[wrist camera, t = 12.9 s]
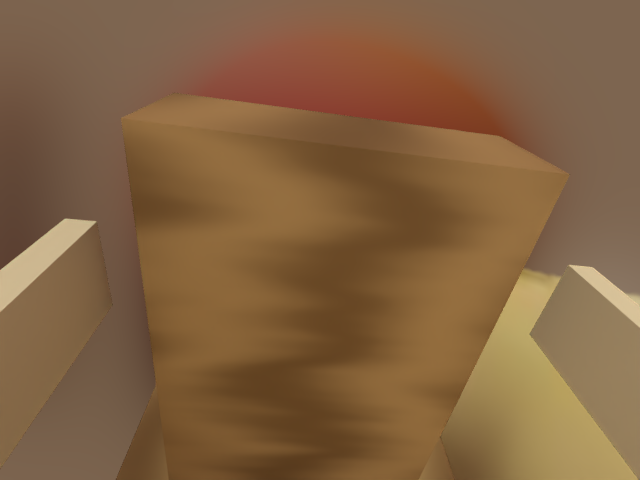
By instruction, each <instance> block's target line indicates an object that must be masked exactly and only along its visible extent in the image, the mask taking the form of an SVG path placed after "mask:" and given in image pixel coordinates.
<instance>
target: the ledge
mask: <svg viewBox="0 0 640 480" xmlns="http://www.w3.org/2000/svg"><path fill="white" fill-rule="evenodd" d="M116 480H169V478H168V470H167V463H166V455H165V447H164V440H163V432H162V425H161V417H160V409H159V402H158V394H157V387H156V386H155V388H154V390H153V393H152V395H151V398H150V400H149V402H148V405H147V407H146V409H145V412H144V414H143V417H142V419H141V421H140V424H139V426H138V428H137V431H136V433H135V436H134V438H133V440H132V443H131V445H130V447H129V450H128V452H127V455H126V457H125V459H124V462H123V464H122V466H121V469H120V471H119V473H118V476H117V478H116ZM419 480H455V479H454V476H453V473H452V470H451V467H450V464H449V461H448V458H447V455H446V452H445V449H444V446H443V443H442V440H441V437H439V439H438V442H437V444H436V446H435V448H434V450H433V452H432V454H431V456H430V458H429V460H428V462H427V464H426V466H425V468H424V470H423V472H422V474H421V476H420V478H419Z"/></svg>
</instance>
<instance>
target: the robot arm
mask: <svg viewBox="0 0 640 480" xmlns="http://www.w3.org/2000/svg"><path fill="white" fill-rule="evenodd" d="M112 305H113V304H112V299H111V293H110V288H109V283H108V278H107V272H106V267H105V262H104V257H103V251H102V247H101V241H100V236H99V230H98V225H97V222H96V221H86V220H75V219H64V220H63V221H61V222H60V223H59V224H58V225H56V226H55V227H54V228H53V229H51V230H50V231H49V232H48V233H46V234H45V235H44V236H42V238H40V239H39V240H37V241H36V242H35V243H34V244H32V245H31V246H30V247H29V248H28V249H26V250H25V251H24V252H22V253H21V254H20V255H19V256H18V257H16V258H15V259H14V260H12V261H11V262H10V263H9V264H7V265H6V266H5V267H4V268H2V269H1V270H0V469H1V467H2V466H3V464H4V463H5V461H6V460H7V458H8V457H9V456H10V454H11V453H12V451H13V450H14V448H15V447H16V445H17V444H18V442H19V441H20V440H21V438H22V437H23V435H24V433H25V432H26V430H27V429H28V428H29V426H30V425H31V423H32V422H33V421H34V419H35V418H36V416H37V415H38V413H39V412H40V410H41V409H42V407H43V406H44V404H45V403H46V402H47V400H48V399H49V397H50V396H51V394H52V393H53V391H54V390H55V388H56V387H57V386H58V384H59V383H60V381H61V379H62V378H63V377H64V375H65V374H66V372H67V371H68V369H69V368H70V367H71V365H72V364H73V362H74V361H75V359H76V358H77V356H78V355H79V353H80V352H81V350H82V349H83V348H84V346H85V345H86V343H87V342H88V340H89V339H90V337H91V336H92V334H93V333H94V331H95V330H96V328H97V327H98V326H99V324H100V323H101V321H102V320H103V318H104V317H105V315H106V314H107V313H108V311H109V310H110V308H111V306H112ZM530 335H531V337H532V338H533V339H534V341H535V342H536V343H537V345H538V346H539V347H540V349H541V350H542V351H543V353H544V354H545V355H546V357H547V358H548V359H549V361H550V362H551V363H552V365H553V366H554V367H555V369H556V370H557V371H558V373H559V374H560V375H561V377H562V378H563V379H564V381H565V382H566V383H567V385H568V386H569V387H570V389H571V390H572V391H573V393H574V394H575V395H576V397H577V398H578V399H579V401H580V402H581V403H582V405H583V406H584V407H585V409H586V410H587V411H588V413H589V414H590V415H591V417H592V418H593V419H594V421H595V422H596V423H597V425H598V426H599V427H600V428H601V430H602V431H603V432H604V434H605V435H606V436H607V438H608V439H609V440H610V442H611V443H612V444H613V446H614V447H615V448H616V450H617V451H618V452H619V454H620V455H621V456H622V458H623V459H624V460H625V462H626V463H627V464H628V466H629V467H630V468H631V470H632V471H633V472H634V474H635V475H636V476H637V478H638V479H639V480H640V306H639V305H638V304H637V303H636V302H634V301H633V300H632V299H631V298H629V297H628V296H627V295H626V294H625V293H623V292H622V291H621V290H620V289H618V288H617V287H616V286H615V285H614V284H612V283H611V282H610V281H609V280H607V279H606V278H605V277H604V276H602V275H601V274H600V273H599V272H597V271H596V270H595V269H594V268H593V267H585V266H574V265H568V267H567V269H566V270H565V272H564V274H563V276H562V277H561V279H560V281H559V283H558V285H557V286H556V288H555V290H554V292H553V293H552V295H551V297H550V299H549V301H548V302H547V304H546V306H545V308H544V309H543V311H542V313H541V315H540V317H539V318H538V320H537V322H536V324H535V325H534V327H533V329H532V331H531V333H530Z"/></svg>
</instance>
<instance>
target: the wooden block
mask: <svg viewBox="0 0 640 480" xmlns="http://www.w3.org/2000/svg"><path fill="white" fill-rule="evenodd" d="M121 121H122V129H123V136H124V144H125V152H126V159H127V167H128V174H129V182H130V190H131V197H132V205H133V212H134V220H135V227H136V235H137V242H138V250H139V257H140V265H141V273H142V281H143V288H144V296H145V303H146V311H147V318H148V326H149V334H150V341H151V349H152V356H153V364H154V371H155V379H156V387H157V394H158V402H159V409H160V417H161V425H162V432H163V440H164V447H165V455H166V463H167V470H168V478H169V480H419V478H420V476H421V474H422V472H423V470H424V468H425V466H426V464H427V462H428V460H429V458H430V456H431V454H432V452H433V450H434V448H435V446H436V444H437V442H438V439H439V437H440V435H441V433H442V431H443V429H444V427H445V425H446V423H447V421H448V419H449V417H450V415H451V413H452V411H453V409H454V407H455V405H456V403H457V401H458V399H459V397H460V395H461V393H462V391H463V389H464V387H465V385H466V383H467V381H468V379H469V377H470V375H471V373H472V371H473V369H474V367H475V365H476V363H477V361H478V359H479V357H480V355H481V353H482V351H483V349H484V347H485V345H486V343H487V341H488V339H489V337H490V335H491V333H492V330H493V328H494V326H495V324H496V322H497V320H498V318H499V316H500V314H501V312H502V310H503V308H504V306H505V304H506V302H507V300H508V298H509V296H510V294H511V292H512V290H513V288H514V286H515V284H516V282H517V280H518V278H519V276H520V274H521V272H522V270H523V268H524V266H525V264H526V262H527V260H528V258H529V256H530V254H531V252H532V250H533V248H534V246H535V244H536V242H537V240H538V238H539V236H540V233H541V231H542V229H543V228H544V226H545V223H546V221H547V219H548V217H549V215H550V213H551V211H552V209H553V207H554V205H555V203H556V201H557V199H558V197H559V195H560V193H561V191H562V189H563V187H564V185H565V183H566V181H567V179H568V177H569V175H570V174H568V173H566V172H564V171H563V170H561V169H559V168H557V167H555V166H553V165H552V164H550V163H548V162H546V161H544V160H542V159H541V158H539V157H537V156H535V155H533V154H531V153H529V152H528V151H526V150H524V149H522V148H521V147H519V146H517V145H515V144H513V143H511V142H510V141H508V140H506V139H504V138H502V137H501V136H494V135H487V134H478V133H472V132H464V131H457V130H449V129H442V128H433V127H427V126H419V125H411V124H404V123H397V122H389V121H381V120H374V119H367V118H359V117H352V116H343V115H336V114H329V113H322V112H314V111H307V110H299V109H291V108H284V107H277V106H269V105H262V104H254V103H247V102H239V101H231V100H224V99H217V98H209V97H201V96H194V95H187V94H179V93H173V94H171V95H169V96H167V97H164V98H162V99H160V100H158V101H156V102H154V103H152V104H150V105H148V106H146V107H144V108H141V109H139V110H137V111H135V112H133V113H131V114H129V115H127V116H125V117H123V118H121Z"/></svg>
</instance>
